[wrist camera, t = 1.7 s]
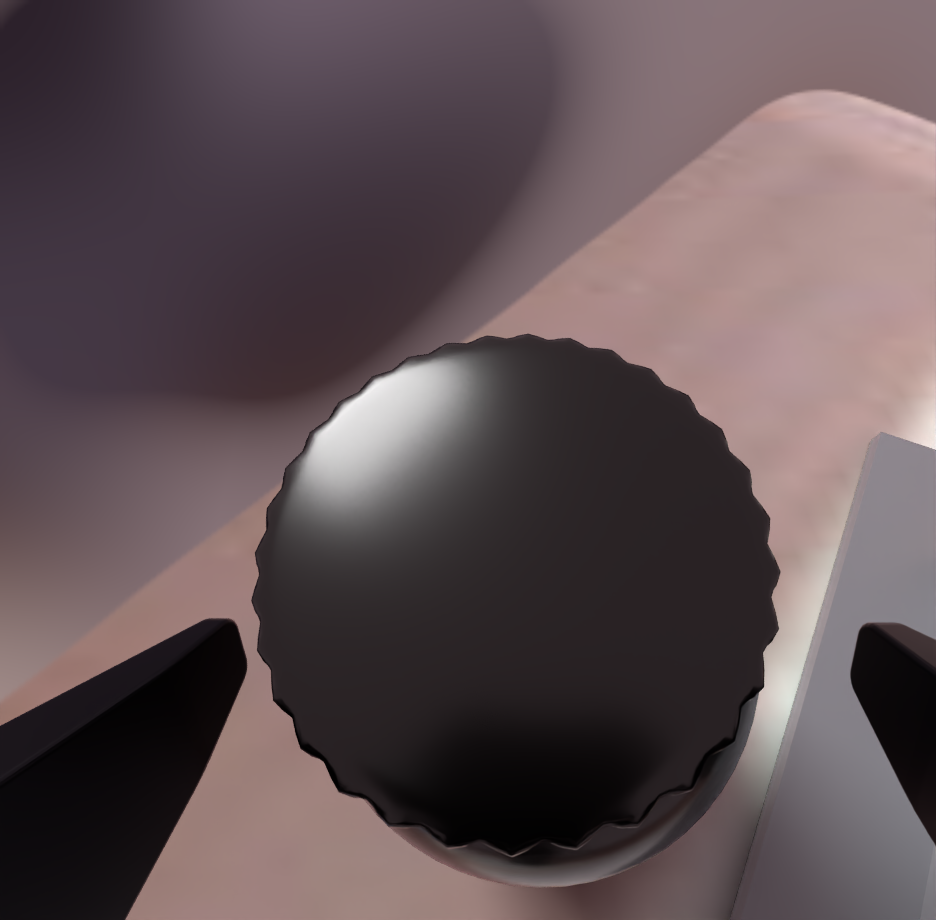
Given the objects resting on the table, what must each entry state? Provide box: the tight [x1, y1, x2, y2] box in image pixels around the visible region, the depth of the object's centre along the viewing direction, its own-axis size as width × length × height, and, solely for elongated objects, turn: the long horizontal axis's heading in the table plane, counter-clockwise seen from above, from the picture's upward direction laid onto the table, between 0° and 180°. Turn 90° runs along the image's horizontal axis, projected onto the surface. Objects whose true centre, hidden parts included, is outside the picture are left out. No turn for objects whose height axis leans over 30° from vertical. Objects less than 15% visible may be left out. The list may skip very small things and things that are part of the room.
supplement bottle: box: [251, 334, 780, 888], centre depth 10 cm, size 7×7×12 cm
